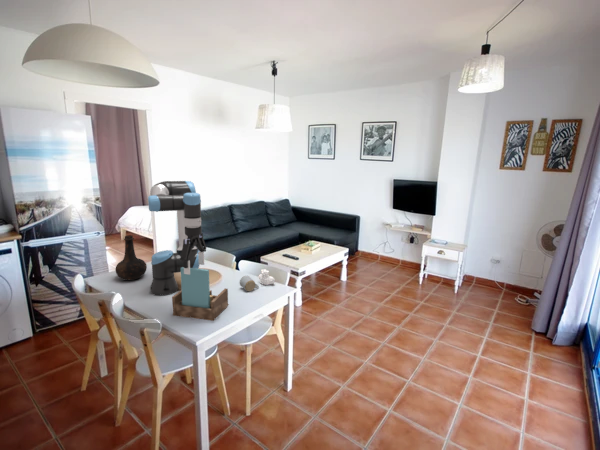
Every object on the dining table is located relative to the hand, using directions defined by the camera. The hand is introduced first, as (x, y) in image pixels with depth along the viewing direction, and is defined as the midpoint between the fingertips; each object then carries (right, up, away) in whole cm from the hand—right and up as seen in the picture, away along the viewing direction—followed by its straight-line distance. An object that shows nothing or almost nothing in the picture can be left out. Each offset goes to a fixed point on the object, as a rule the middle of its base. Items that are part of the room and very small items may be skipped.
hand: (194, 269), depth 151 cm
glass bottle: (-58, -13, +52) cm, 79 cm away
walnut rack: (0, -24, +10) cm, 26 cm away
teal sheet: (-1, -23, +5) cm, 24 cm away
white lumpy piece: (+29, -17, +49) cm, 59 cm away
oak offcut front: (+2, -23, +8) cm, 24 cm away
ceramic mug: (+20, -18, +41) cm, 49 cm away
